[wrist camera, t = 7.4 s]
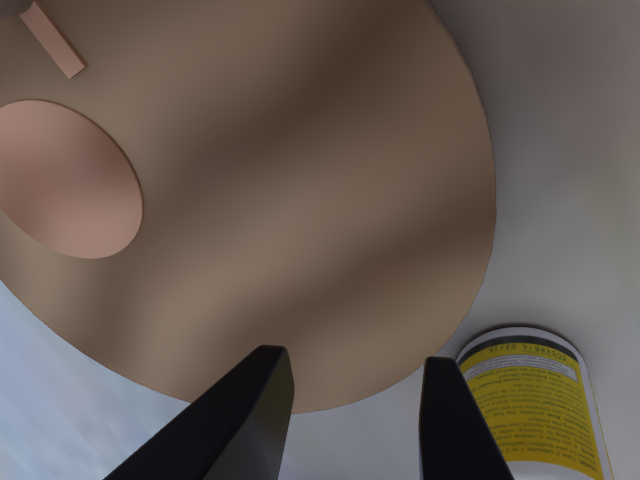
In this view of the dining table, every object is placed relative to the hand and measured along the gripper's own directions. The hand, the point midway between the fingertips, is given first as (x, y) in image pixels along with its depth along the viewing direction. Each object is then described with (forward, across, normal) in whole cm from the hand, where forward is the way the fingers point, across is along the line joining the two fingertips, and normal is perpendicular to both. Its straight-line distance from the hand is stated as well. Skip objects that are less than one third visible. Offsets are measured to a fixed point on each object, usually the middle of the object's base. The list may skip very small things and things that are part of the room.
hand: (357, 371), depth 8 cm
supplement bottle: (+13, -4, +12) cm, 18 cm away
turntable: (+11, +8, +3) cm, 14 cm away
